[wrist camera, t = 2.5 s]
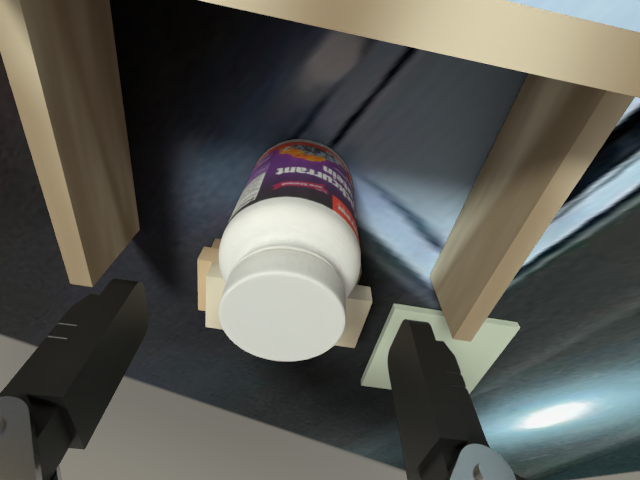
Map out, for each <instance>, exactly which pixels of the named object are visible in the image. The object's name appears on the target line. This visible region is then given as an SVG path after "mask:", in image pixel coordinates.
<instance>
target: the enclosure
mask: <svg viewBox="0 0 640 480" xmlns="http://www.w3.org/2000/svg"><path fill="white" fill-rule="evenodd" d="M199 1H204V2H208V3H213V4H217V5H222V6H226V7H231V8H235V9H240V10H244V11H249V12H254V13H258V14H263V15H267V16H272V17H276V18H281V19H285V20H290V21H294V22H299V23H303V24H308V25H312V26H317V27H322V28H326V29H331V30H335V31H340V32H344V33H349V34H353V35H358V36H362V37H367V38H371V39H376V40H380V41H385V42H390V43H394V44H399V45H403V46H408V47H412V48H417V49H421V50H426V51H430V52H435V53H439V54H444V55H448V56H453V57H458V58H462V59H467V60H471V61H476V62H480V63H485V64H489V65H494V66H498V67H503V68H507V69H512V70H516V71H521V72H526V73H528V74H527V76H526V78H525V81H524V83H523V85H522V87H521V89H520V91H519V93H518V95H517V97H516V99H515V101H514V103H513V105H512V107H511V109H510V111H509V114H508V116H507V118H506V120H505V122H504V124H503V126H502V128H501V130H500V132H499V134H498V136H497V138H496V140H495V142H494V144H493V147H492V149H491V151H490V153H489V155H488V157H487V159H486V161H485V163H484V165H483V167H482V169H481V171H480V173H479V175H478V177H477V180H476V182H475V184H474V186H473V188H472V190H471V192H470V194H469V196H468V198H467V200H466V202H465V204H464V206H463V208H462V211H461V213H460V215H459V217H458V219H457V221H456V223H455V225H454V227H453V229H452V231H451V233H450V235H449V237H448V239H447V241H446V244H445V246H444V248H443V250H442V252H441V254H440V256H439V258H438V260H437V262H436V264H435V266H434V268H433V270H432V272H431V274H430V278H431V281H432V284H433V287H434V289H435V292H436V295H437V297H438V300H439V303H440V306H441V308H442V311H443V314H444V317H445V319H446V322H447V325H448V328H449V330H450V333H451V336H452V339H455V340H462V341H469V342H471V341H472V339H473V338H474V336H475V335H476V333H477V332H478V330H479V329H480V327H481V326H482V324H483V323H484V321H485V320H486V318H487V317H488V315H489V314H490V313H491V311H492V310H493V308H494V307H495V305H496V304H497V302H498V301H499V299H500V298H501V296H502V295H503V293H504V292H505V290H506V289H507V287H508V286H509V284H510V283H511V281H512V280H513V278H514V277H515V275H516V274H517V272H518V271H519V269H520V268H521V266H522V265H523V263H524V262H525V260H526V259H527V257H528V256H529V254H530V253H531V251H532V250H533V248H534V247H535V245H536V244H537V242H538V241H539V239H540V238H541V236H542V235H543V233H544V232H545V230H546V229H547V227H548V226H549V224H550V223H551V221H552V220H553V218H554V217H555V215H556V214H557V212H558V211H559V209H560V208H561V207H562V205H563V204H564V202H565V201H566V199H567V198H568V196H569V195H570V193H571V192H572V190H573V189H574V187H575V186H576V184H577V183H578V181H579V180H580V178H581V177H582V175H583V174H584V172H585V171H586V169H587V168H588V166H589V165H590V163H591V162H592V160H593V159H594V157H595V156H596V154H597V153H598V151H599V150H600V148H601V147H602V145H603V144H604V142H605V141H606V139H607V138H608V136H609V135H610V133H611V132H612V130H613V129H614V127H615V126H616V124H617V123H618V121H619V120H620V118H621V117H622V115H623V114H624V112H625V111H626V109H627V108H628V106H629V105H630V103H631V102H632V101H633V99H634V98H635V97H639V98H640V33H639V32H635V31H631V30H626V29H622V28H618V27H614V26H610V25H605V24H601V23H597V22H593V21H589V20H585V19H580V18H576V17H572V16H568V15H564V14H559V13H555V12H551V11H547V10H543V9H538V8H534V7H530V6H526V5H522V4H518V3H513V2H509V1H505V0H199ZM0 52H1V55H2V58H3V62H4V65H5V68H6V72H7V75H8V78H9V82H10V85H11V88H12V91H13V95H14V98H15V101H16V105H17V108H18V111H19V115H20V118H21V121H22V125H23V128H24V131H25V135H26V138H27V141H28V145H29V148H30V151H31V154H32V158H33V161H34V164H35V168H36V171H37V174H38V178H39V181H40V184H41V188H42V191H43V194H44V198H45V201H46V204H47V208H48V211H49V214H50V217H51V221H52V224H53V227H54V231H55V234H56V237H57V241H58V244H59V247H60V251H61V254H62V257H63V261H64V264H65V267H66V271H67V274H68V277H69V280H70V284H76V285H83V286H90V287H93V286H94V285H95V283H96V282H97V281H98V280H99V278H100V277H101V276H102V275H103V274H104V272H105V271H106V270H107V269H108V268H109V266H110V265H111V264H112V263H113V261H114V260H115V259H116V258H117V257H118V255H119V254H120V253H121V252H122V251H123V249H124V248H125V247H126V246H127V244H128V243H129V242H130V241H131V240H132V238H133V237H134V236H135V235H136V234H137V232H138V231H139V230H140V227H139V220H138V212H137V204H136V197H135V189H134V182H133V174H132V167H131V159H130V152H129V144H128V137H127V129H126V121H125V114H124V106H123V99H122V91H121V84H120V76H119V69H118V61H117V53H116V46H115V38H114V31H113V23H112V16H111V8H110V1H109V0H0Z"/></svg>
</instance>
